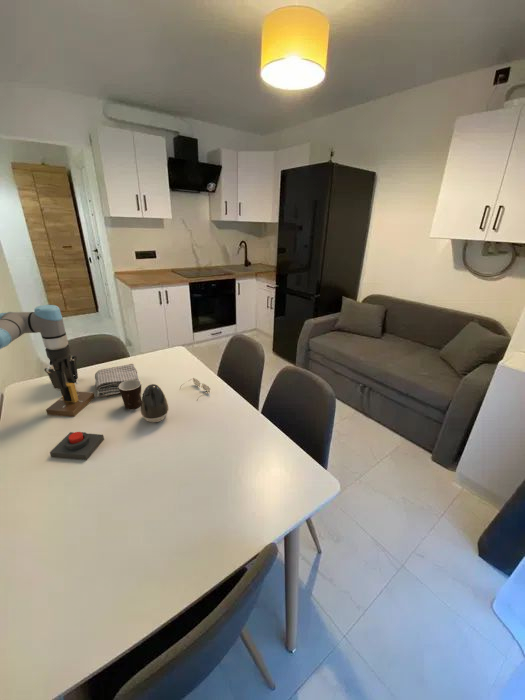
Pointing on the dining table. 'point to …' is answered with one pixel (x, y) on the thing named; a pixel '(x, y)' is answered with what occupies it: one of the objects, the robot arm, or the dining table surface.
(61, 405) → the plate
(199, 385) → the eyeglasses
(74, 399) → the thumb turn
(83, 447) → the doorbell
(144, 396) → the dark egg shape
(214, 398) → the dining table surface
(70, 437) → the bell button
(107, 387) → the towel
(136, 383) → the coffee mug
